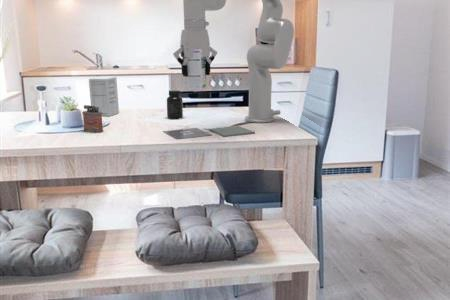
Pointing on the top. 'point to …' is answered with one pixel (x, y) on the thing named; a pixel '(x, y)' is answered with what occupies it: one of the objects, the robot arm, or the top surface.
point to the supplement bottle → (174, 105)
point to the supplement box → (104, 95)
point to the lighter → (92, 119)
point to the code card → (187, 133)
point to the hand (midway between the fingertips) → (196, 75)
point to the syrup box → (196, 71)
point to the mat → (231, 131)
